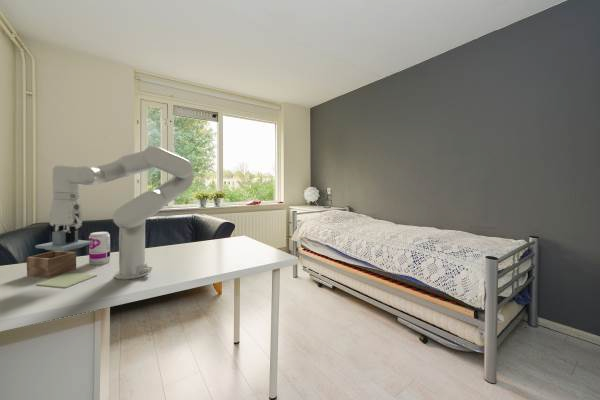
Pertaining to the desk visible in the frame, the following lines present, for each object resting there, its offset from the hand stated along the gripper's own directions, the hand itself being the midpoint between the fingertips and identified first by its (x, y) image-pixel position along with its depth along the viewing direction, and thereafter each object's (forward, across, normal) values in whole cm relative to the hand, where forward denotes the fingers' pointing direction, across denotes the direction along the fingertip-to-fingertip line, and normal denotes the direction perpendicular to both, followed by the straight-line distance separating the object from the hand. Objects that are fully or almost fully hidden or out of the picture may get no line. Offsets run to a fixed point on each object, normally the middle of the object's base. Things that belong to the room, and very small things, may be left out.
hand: (65, 241), depth 102 cm
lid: (+3, 0, 0) cm, 3 cm away
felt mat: (+16, -1, 0) cm, 16 cm away
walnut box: (+16, +14, -6) cm, 22 cm away
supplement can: (+16, +7, -22) cm, 29 cm away
